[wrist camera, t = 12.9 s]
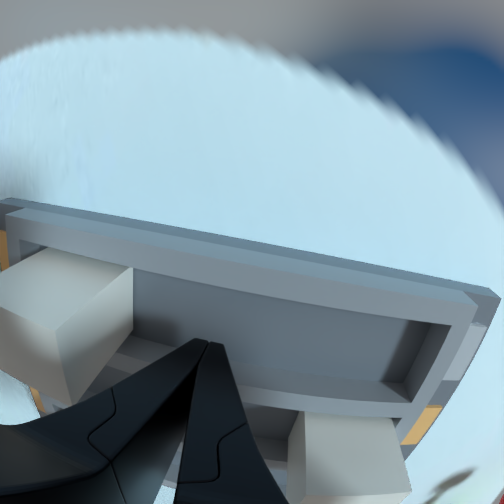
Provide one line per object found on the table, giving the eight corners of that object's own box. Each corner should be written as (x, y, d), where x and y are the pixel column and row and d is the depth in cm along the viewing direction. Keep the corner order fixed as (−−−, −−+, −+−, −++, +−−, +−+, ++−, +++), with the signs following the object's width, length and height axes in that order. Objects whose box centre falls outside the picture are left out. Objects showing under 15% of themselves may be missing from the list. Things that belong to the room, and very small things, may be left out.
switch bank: (374, 480, 14) (378, 508, 12) (48, 407, 15) (31, 428, 13) (489, 288, 10) (517, 312, 8) (10, 197, 11) (-24, 208, 9)
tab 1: (133, 329, 11) (73, 408, 7) (58, 305, 11) (-11, 362, 7) (133, 264, 10) (55, 331, 6) (53, 244, 10) (-31, 290, 6)
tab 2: (364, 443, 12) (377, 522, 8) (288, 437, 12) (284, 523, 8) (387, 405, 11) (412, 491, 7) (304, 398, 11) (306, 494, 7)
